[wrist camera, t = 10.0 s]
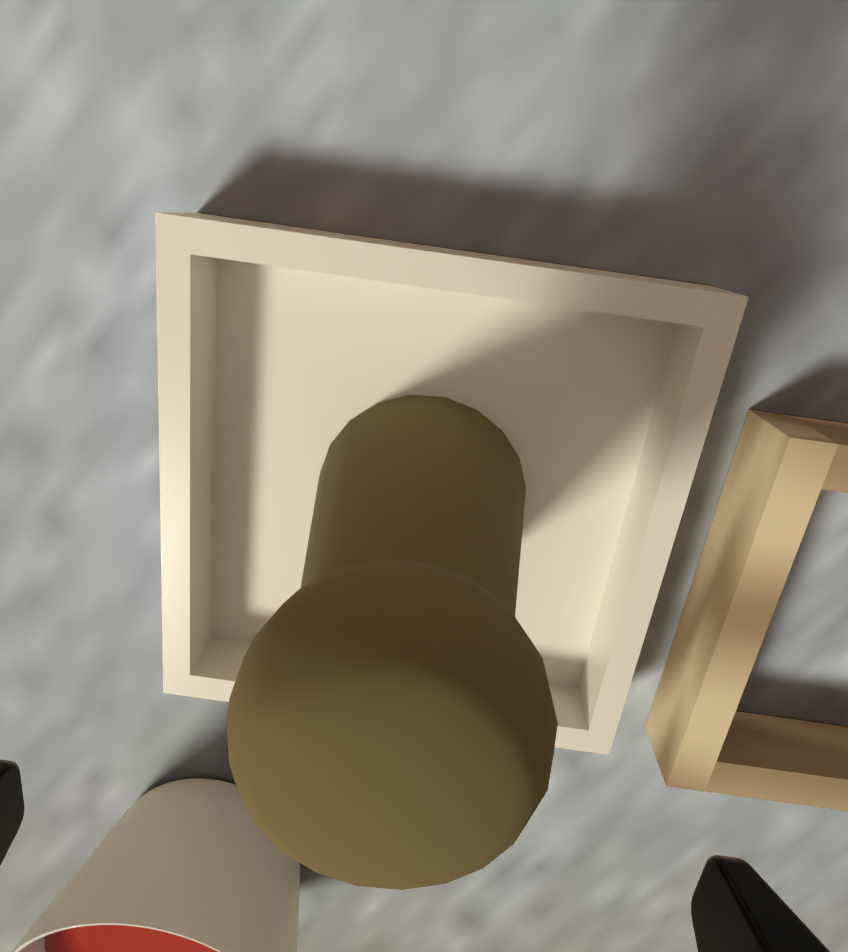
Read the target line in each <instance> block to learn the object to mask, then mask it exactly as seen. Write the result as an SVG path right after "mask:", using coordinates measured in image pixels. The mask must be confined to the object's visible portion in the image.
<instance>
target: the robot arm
mask: <svg viewBox="0 0 848 952" xmlns="http://www.w3.org/2000/svg"><path fill="white" fill-rule="evenodd" d="M23 815H24V800H23V792H22V784H21V777H20V770H19V767H18V765H17V764H16V763H15V762H12V761H7V760H0V865H1V863H2V861H3V859H4V857H5V855H6V853H7V851H8V849H9V847H10V845H11V843H12V841H13V839H14V837H15V836H16V834H17V832H18V830H19V827H20V825H21V822H22V819H23ZM691 915H692V921H693V927H694V932H695V937H696V943H697V948H698V952H830V951H829V950H828V949H827V948H826V947H825V946H824V945H823V944H822V943H821V942H820V940H819V939H818V938H817V937H816V936H815V935H814V934H813V933H812V932H811V931H810V930H809V929H808V927H807V926H806V925H805V924H804V923H803V922H802V921H801V920H800V919H799V918H798V917H797V916H796V914H795V913H794V912H793V911H792V910H791V909H790V908H789V907H788V906H787V905H786V904H785V903H784V901H783V900H782V899H781V898H780V897H779V896H778V895H777V894H776V893H775V892H774V891H773V890H772V888H771V887H770V886H769V885H768V884H767V883H766V882H765V881H764V880H763V879H762V878H761V877H760V875H759V874H758V873H757V872H756V871H755V870H754V869H753V868H752V867H751V866H750V865H749V864H748V863H747V862H745V861H744V860H742V859H739V858H734V857H727V856H719V855H713V856H711V857H710V858H709V859H708V860H707V862H706V864H705V867H704V869H703V872H702V874H701V877H700V879H699V881H698V884H697V886H696V889H695V891H694V893H693V897H692V902H691Z"/></svg>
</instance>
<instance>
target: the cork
mask: <svg viewBox="0 0 848 952" xmlns="http://www.w3.org/2000/svg"><path fill="white" fill-rule="evenodd" d="M525 495H526V485H525V481H524V476H523V472H522V467H521V463H520V458H519V456H518V455H517V453H516V452H515V450H514V448H513V447H512V445H511V444H510V442H509V440H508V439H507V437H506V436H505V434H504V432H503V431H502V430H501V429H500V428H499V427H497V426H496V425H495V424H494V423H493V422H491V421H490V420H489V419H488V418H486V417H485V416H484V415H483V414H482V413H480V412H479V411H478V410H477V409H474V408H472V407H469V406H466V405H464V404H461V403H459V402H456V401H454V400H451V399H449V398H446V397H437V396H422V395H407V396H403V397H399V398H395V399H391V400H387V401H383V402H379V403H377V404H375V405H373V406H372V407H370V408H369V409H367V410H365V411H364V412H362V413H361V414H359V415H357V416H356V417H354V418H353V419H351V420H350V421H349V422H348V423H347V424H346V426H345V427H344V428H343V429H342V430H341V432H340V433H339V434H338V435H337V437H336V438H335V439H334V440H333V442H332V443H331V444H330V446H329V449H328V452H327V454H326V457H325V460H324V463H323V466H322V468H321V471H320V475H319V481H318V487H317V493H316V499H315V505H314V511H313V516H312V522H311V528H310V534H309V540H308V546H307V552H306V558H305V564H304V570H303V576H302V582H301V588H300V589H299V590H298V591H296V592H295V593H294V594H293V595H292V596H291V597H290V598H289V599H288V600H286V601H285V602H284V603H283V604H282V605H281V607H280V608H279V609H278V610H277V611H276V612H275V613H274V615H273V616H272V617H271V618H270V619H269V620H268V621H267V623H266V624H265V625H264V626H263V627H262V628H261V630H260V631H259V632H258V633H257V634H256V635H255V637H254V639H253V641H252V643H251V644H250V646H249V648H248V650H247V652H246V654H245V656H244V658H243V661H242V664H241V667H240V669H239V672H238V675H237V678H236V681H235V684H234V687H233V690H232V692H231V695H230V698H229V707H228V716H227V739H228V754H229V765H230V768H231V771H232V774H233V777H234V780H235V783H236V786H237V789H238V791H239V793H240V795H241V797H242V799H243V801H244V803H245V806H246V808H247V810H248V812H249V814H250V816H251V818H252V820H253V822H254V823H255V825H256V826H257V827H258V828H259V829H260V830H261V831H262V832H263V833H264V834H265V835H266V836H267V837H268V838H269V839H270V840H271V841H272V842H273V843H274V845H275V846H276V847H277V848H278V849H279V850H280V851H281V852H283V853H285V854H286V855H288V856H290V857H291V858H293V859H295V860H296V861H298V862H300V863H301V864H303V865H305V866H306V867H308V868H310V869H311V870H313V871H315V872H316V873H319V874H322V875H325V876H328V877H332V878H335V879H338V880H341V881H344V882H347V883H351V884H354V885H357V886H364V887H376V888H388V889H400V890H404V889H411V888H418V887H425V886H432V885H439V884H445V883H448V882H450V881H453V880H455V879H458V878H460V877H462V876H465V875H467V874H470V873H472V872H475V871H477V870H480V869H482V868H484V867H485V866H486V865H488V864H489V863H490V862H491V861H493V860H494V859H495V858H496V857H498V856H499V855H500V854H501V853H503V852H504V851H505V850H506V849H508V848H509V847H510V846H511V845H513V844H514V842H515V841H516V839H517V838H518V836H519V835H520V833H521V832H522V830H523V829H524V827H525V826H526V824H527V822H528V821H529V819H530V818H531V816H532V814H533V813H534V811H535V810H536V808H537V806H538V805H539V803H540V801H541V800H542V798H543V797H544V795H545V793H546V792H547V790H548V784H549V778H550V772H551V766H552V760H553V754H554V747H555V740H556V733H557V726H558V722H557V718H556V713H555V709H554V704H553V700H552V695H551V691H550V687H549V683H548V679H547V674H546V670H545V666H544V662H543V658H542V656H541V655H540V653H539V652H538V650H537V649H536V647H535V646H534V644H533V643H532V641H531V640H530V638H529V637H528V635H527V634H526V632H525V631H524V629H523V628H522V626H521V625H520V623H519V622H518V620H517V619H516V618H515V611H516V600H517V588H518V576H519V565H520V553H521V541H522V530H523V518H524V506H525Z"/></svg>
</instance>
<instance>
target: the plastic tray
mask: <svg viewBox="0 0 848 952" xmlns="http://www.w3.org/2000/svg"><path fill="white" fill-rule="evenodd" d="M155 224H156V283H157V342H158V400H159V459H160V518H161V577H162V636H163V693H168V694H175V695H182V696H190V697H197V698H204V699H211V700H218V701H226V702H229V698H230V695H231V692H232V690H233V687H234V684H235V681H236V678H237V675H238V672H239V669H240V667H241V664H242V661H243V658H244V656H245V654H246V652H247V650H248V648H249V646H250V644H251V643H252V641H253V639H254V637H255V635H256V634H257V633H258V632H259V631H260V630H261V628H262V627H263V626H264V625H265V624H266V623H267V621H268V620H269V619H270V618H271V617H272V616H273V615H274V613H275V612H276V611H277V610H278V609H279V608H280V607H281V605H282V604H283V603H284V602H285V601H286V600H288V599H289V598H290V597H291V596H292V595H293V594H294V593H295V592H296V591H298V590H299V589H300V588H301V582H302V576H303V570H304V564H305V558H306V552H307V546H308V540H309V534H310V528H311V522H312V516H313V511H314V505H315V499H316V493H317V487H318V481H319V475H320V471H321V468H322V466H323V463H324V460H325V457H326V454H327V452H328V449H329V446H330V444H331V443H332V442H333V440H334V439H335V438H336V437H337V435H338V434H339V433H340V432H341V430H342V429H343V428H344V427H345V426H346V424H347V423H348V422H349V421H350V420H351V419H353V418H354V417H356V416H357V415H359V414H361V413H362V412H364V411H365V410H367V409H369V408H370V407H372V406H373V405H375V404H377V403H379V402H383V401H387V400H391V399H395V398H399V397H403V396H407V395H422V396H437V397H446V398H449V399H451V400H454V401H456V402H459V403H461V404H464V405H466V406H469V407H472V408H474V409H477V410H478V411H479V412H480V413H482V414H483V415H484V416H485V417H486V418H488V419H489V420H490V421H491V422H493V423H494V424H495V425H496V426H497V427H499V428H500V429H501V430H502V431H503V432H504V434H505V436H506V437H507V439H508V440H509V442H510V444H511V445H512V447H513V448H514V450H515V452H516V453H517V455H518V456H519V458H520V463H521V467H522V472H523V476H524V481H525V485H526V495H525V506H524V518H523V530H522V541H521V553H520V565H519V576H518V588H517V600H516V611H515V618H516V619H517V620H518V622H519V623H520V625H521V626H522V628H523V629H524V631H525V632H526V634H527V635H528V637H529V638H530V640H531V641H532V643H533V644H534V646H535V647H536V649H537V650H538V652H539V653H540V655H541V656H542V658H543V662H544V666H545V670H546V674H547V679H548V683H549V687H550V691H551V695H552V700H553V704H554V709H555V713H556V718H557V722H558V726H557V733H556V740H555V747H557V748H564V749H572V750H579V751H586V752H593V753H600V754H608V755H609V753H610V750H611V747H612V743H613V740H614V737H615V733H616V730H617V727H618V724H619V720H620V717H621V714H622V711H623V707H624V704H625V701H626V697H627V694H628V691H629V688H630V684H631V681H632V678H633V674H634V671H635V668H636V665H637V661H638V658H639V655H640V652H641V648H642V645H643V642H644V638H645V635H646V632H647V629H648V625H649V622H650V619H651V616H652V612H653V609H654V606H655V602H656V599H657V596H658V593H659V589H660V586H661V583H662V579H663V576H664V573H665V570H666V566H667V563H668V560H669V557H670V553H671V550H672V547H673V543H674V540H675V537H676V534H677V530H678V527H679V524H680V520H681V517H682V514H683V511H684V507H685V504H686V501H687V498H688V494H689V491H690V488H691V484H692V481H693V478H694V475H695V471H696V468H697V465H698V462H699V458H700V455H701V452H702V448H703V445H704V442H705V439H706V435H707V432H708V429H709V425H710V422H711V419H712V416H713V412H714V409H715V406H716V403H717V399H718V396H719V393H720V389H721V386H722V383H723V380H724V376H725V373H726V370H727V367H728V363H729V360H730V357H731V353H732V350H733V347H734V344H735V340H736V337H737V334H738V330H739V327H740V324H741V321H742V317H743V314H744V311H745V308H746V304H747V301H748V298H749V297H748V296H744V295H741V294H737V293H734V292H730V291H727V290H723V289H720V288H716V287H713V286H708V285H701V284H694V283H687V282H680V281H673V280H666V279H659V278H652V277H645V276H638V275H631V274H624V273H617V272H610V271H603V270H595V269H588V268H581V267H574V266H567V265H560V264H553V263H546V262H539V261H532V260H525V259H518V258H511V257H504V256H497V255H490V254H483V253H476V252H469V251H462V250H455V249H448V248H441V247H434V246H427V245H420V244H413V243H405V242H398V241H391V240H384V239H377V238H370V237H363V236H356V235H349V234H342V233H335V232H328V231H321V230H314V229H307V228H300V227H293V226H286V225H279V224H272V223H265V222H258V221H251V220H244V219H237V218H230V217H222V216H215V215H208V214H201V213H155Z"/></svg>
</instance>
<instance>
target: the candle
mask: <svg viewBox="0 0 848 952" xmlns="http://www.w3.org/2000/svg"><path fill="white" fill-rule="evenodd" d="M299 896H300V862H298V861H296V860H295V859H293V858H291V857H290V856H288V855H286V854H285V853H283V852H281V851H280V850H279V849H278V848H277V847H276V846H275V845H274V843H273V842H272V841H271V840H270V839H269V838H268V837H267V836H266V835H265V834H264V833H263V832H262V831H261V830H260V829H259V828H258V827H257V826H256V825H255V823H254V822H253V820H252V818H251V816H250V814H249V812H248V810H247V808H246V806H245V803H244V801H243V799H242V797H241V795H240V793H239V791H238V789H237V786H236V784H233V783H229V782H225V781H220V780H214V779H204V778H192V779H182V780H176V781H172V782H169V783H165V784H163V785H160V786H158V787H156V788H154V789H152V790H150V791H149V792H147V793H146V794H144V795H143V796H142V797H140V798H139V799H138V800H137V801H136V802H135V803H134V804H133V805H132V806H131V807H130V808H129V809H128V810H127V812H126V813H125V814H124V815H123V816H122V817H121V819H120V820H119V821H118V822H117V823H116V825H115V826H114V827H113V828H112V829H111V831H110V832H109V833H108V834H107V835H106V837H105V838H104V839H103V840H102V842H101V843H100V844H99V845H98V846H97V848H96V849H95V850H94V851H93V853H92V854H91V855H90V856H89V857H88V859H87V860H86V861H85V862H84V864H83V865H82V866H81V867H80V868H79V870H78V871H77V872H76V873H75V875H74V876H73V877H72V878H71V879H70V881H69V882H68V883H67V884H66V886H65V887H64V888H63V889H62V890H61V892H60V893H59V894H58V895H57V897H56V898H55V899H54V900H53V902H52V903H51V904H50V905H49V906H48V908H47V909H46V910H45V911H44V913H43V914H42V915H41V916H40V917H39V919H38V920H37V921H36V922H35V924H34V925H33V926H32V927H31V929H30V930H29V931H28V932H27V933H26V935H25V936H24V937H23V938H22V940H21V941H20V942H19V943H18V944H17V946H16V947H15V948H14V949H13V951H12V952H297V939H298V918H299Z"/></svg>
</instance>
